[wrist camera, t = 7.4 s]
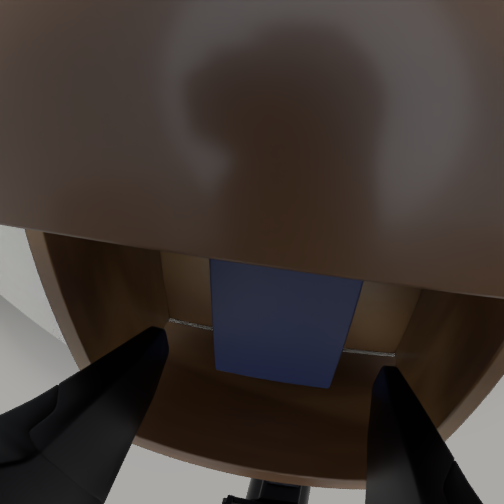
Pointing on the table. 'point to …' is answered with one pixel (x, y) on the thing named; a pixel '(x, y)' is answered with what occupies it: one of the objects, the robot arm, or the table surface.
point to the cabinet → (263, 132)
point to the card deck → (280, 322)
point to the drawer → (261, 390)
